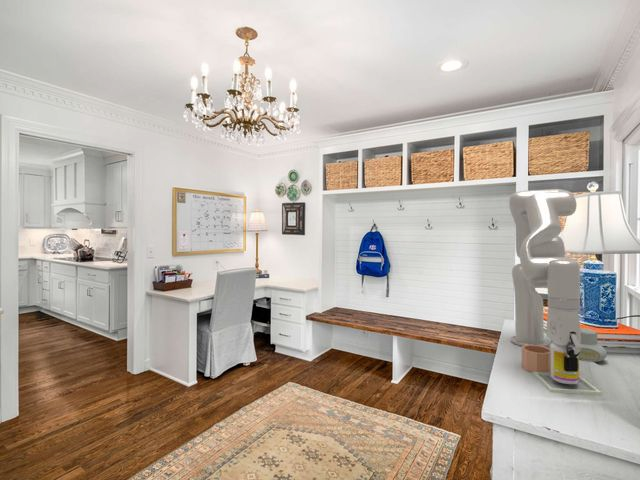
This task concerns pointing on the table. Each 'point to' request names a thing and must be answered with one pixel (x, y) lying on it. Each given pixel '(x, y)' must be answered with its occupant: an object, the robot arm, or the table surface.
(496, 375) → the table surface
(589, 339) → the air freshener
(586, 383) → the tray
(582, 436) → the table surface
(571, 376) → the supplement bottle
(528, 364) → the pot
